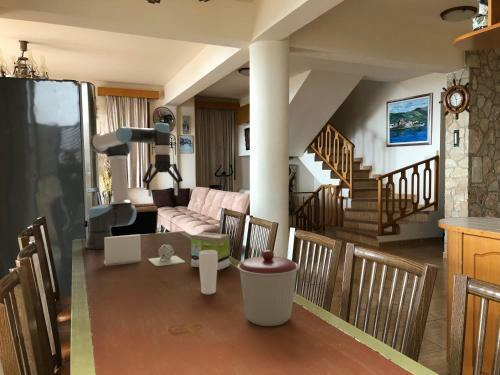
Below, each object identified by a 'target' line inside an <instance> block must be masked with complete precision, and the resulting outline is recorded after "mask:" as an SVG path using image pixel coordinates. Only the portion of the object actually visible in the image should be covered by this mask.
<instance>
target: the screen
mask: <svg viewBox="0 0 500 375" xmlns="http://www.w3.org/2000/svg"><path fill="white" fill-rule="evenodd" d="M104 241H105V249H104V260H103V264H104V266H105V267H109V266H117V265H118V266H120V265H127V264H134V263H135V264H136V263H141V262H142V252H141V248H142V247H141V246H142V244H141V234H140V233H139V234H130V235H129V234H128V235H127V234H126V235H119V236H117V235H116V236H112V237H104Z"/></svg>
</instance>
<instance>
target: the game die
mask: <svg viewBox="0 0 500 375" xmlns="http://www.w3.org/2000/svg"><path fill="white" fill-rule="evenodd" d="M172 245H173V243H170V244H163V243H161V246H160V247H159V249H158V250H155V252H157V253H158V256H159V258H161V259H169V260H170V261H171V257H172V256H174V254H176V253H177V252H175V250H174V248H173V246H172ZM161 259H160V261H161Z"/></svg>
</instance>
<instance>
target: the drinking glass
mask: <svg viewBox="0 0 500 375" xmlns="http://www.w3.org/2000/svg"><path fill="white" fill-rule="evenodd" d="M217 264H218V256H217V251H215V250H203V251H200V252H199V267H198V268H199V278H200V292H201V293H202V294H203V295H212V294H215V293H216V291H217V278H218V275H217V274H218V271H217Z"/></svg>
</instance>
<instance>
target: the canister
mask: <svg viewBox="0 0 500 375" xmlns="http://www.w3.org/2000/svg"><path fill="white" fill-rule="evenodd" d="M237 270H239V275H240V283H241V291H242V292H241V294H242V299H243V308H244V312H245V316H246V319H247V320H249V322H251V323H252V324H254V325H257V326H262V327H277V326H280V325H284V324H285V323H286V322H288V321H289V319H290V317H291V315H292V310H293V304H294V297H295V286H296V278H297V277H296V276H297V271H298V270H299V265H298V264H297V263H296V262H294V261H293V260H292V259H289V258H287V257H283V256H275V252H273V250H270V249H266V250H265V249H264V250H263V251H262V252H261V256H252V257H248V258H246V259H244V260H243V261H242V262H239V263H238V264H237Z"/></svg>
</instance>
